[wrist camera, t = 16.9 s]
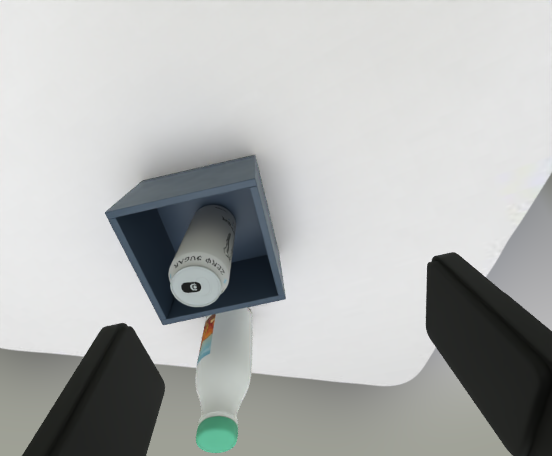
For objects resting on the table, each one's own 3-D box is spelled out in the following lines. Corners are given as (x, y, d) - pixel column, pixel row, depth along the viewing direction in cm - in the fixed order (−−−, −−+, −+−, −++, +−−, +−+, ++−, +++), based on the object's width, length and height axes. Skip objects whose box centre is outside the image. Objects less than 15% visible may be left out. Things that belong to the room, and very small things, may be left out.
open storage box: (141, 180, 39) (104, 212, 29) (255, 154, 39) (255, 178, 29) (182, 274, 46) (162, 325, 36) (279, 253, 46) (285, 299, 36)
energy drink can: (238, 239, 43) (231, 309, 30) (197, 242, 43) (170, 314, 29) (233, 200, 40) (223, 258, 27) (189, 203, 40) (157, 263, 27)
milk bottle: (230, 290, 48) (216, 412, 30) (261, 316, 51) (265, 442, 33) (197, 315, 50) (165, 444, 32) (229, 339, 53) (216, 470, 35)
